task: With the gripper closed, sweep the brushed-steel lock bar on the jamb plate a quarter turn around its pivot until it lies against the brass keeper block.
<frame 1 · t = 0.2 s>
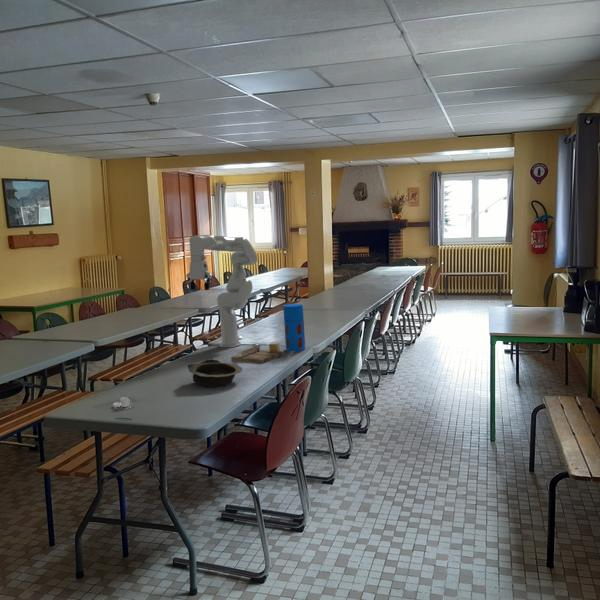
hand: (200, 289, 325), 36 cm above the table, tool pointing down, fingers open, 9 cm apart
brown round bowl: (216, 383, 268), on the table
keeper: (274, 351, 319), resting on jamb plate
thermos: (295, 349, 330), on the table
jamb plate: (257, 357, 314), on the table
lock bar: (248, 350, 315), point 4 cm above the table, hinge at 0.0°
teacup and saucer: (125, 406, 241), on the table
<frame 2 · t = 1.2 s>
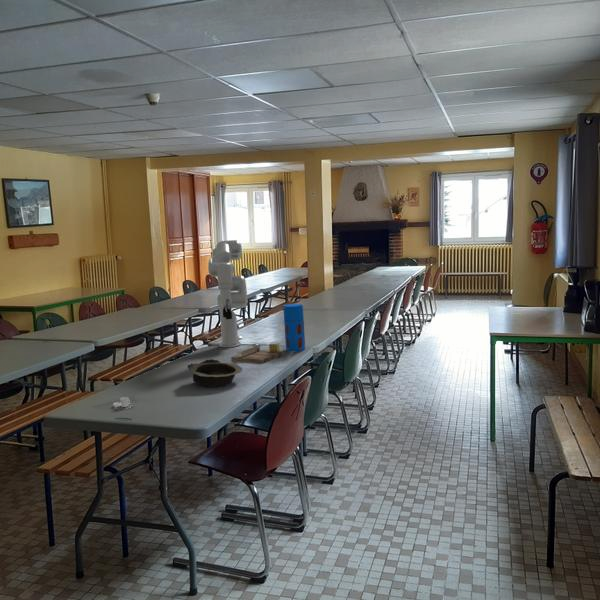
hand: (227, 318, 315), 21 cm above the table, tool pointing down, fingers open, 9 cm apart
nothing on the table moved.
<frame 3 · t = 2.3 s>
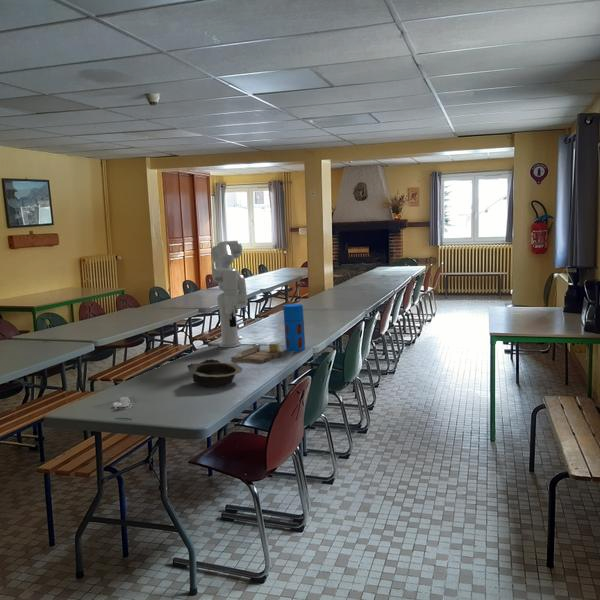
hand: (233, 326, 315), 17 cm above the table, tool pointing down, fingers closed
nothing on the table moved.
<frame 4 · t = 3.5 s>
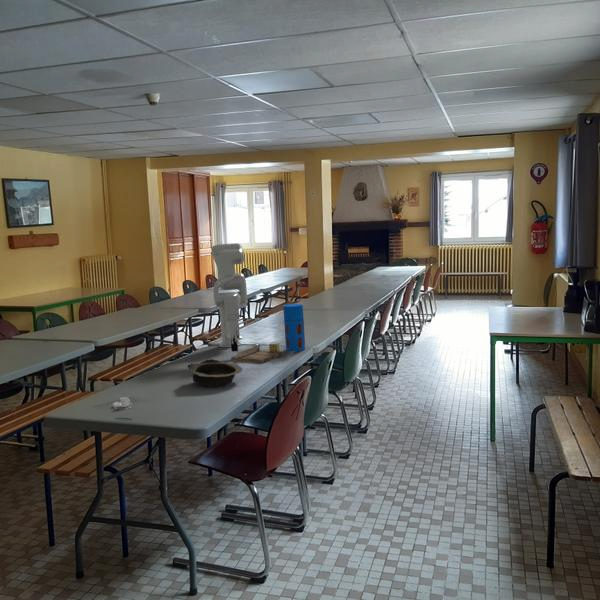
hand: (234, 351, 316), 4 cm above the table, tool pointing down, fingers closed
nothing on the table moved.
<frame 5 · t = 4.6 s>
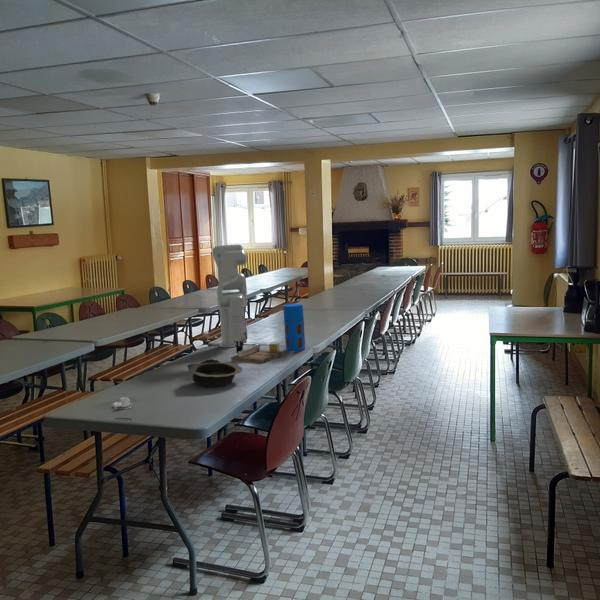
hand: (239, 353, 313), 3 cm above the table, tool pointing down, fingers closed
lock bar: (249, 350, 315), point 4 cm above the table, hinge at 2.8°, touching gripper
everything else where it was.
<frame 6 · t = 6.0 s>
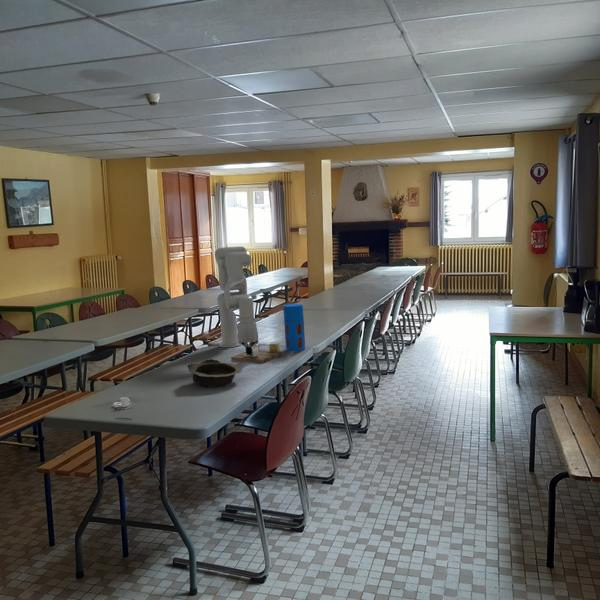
hand: (249, 354, 310), 3 cm above the table, tool pointing down, fingers closed
lock bar: (255, 350, 314), point 4 cm above the table, hinge at 33.4°, touching gripper
everything else where it was.
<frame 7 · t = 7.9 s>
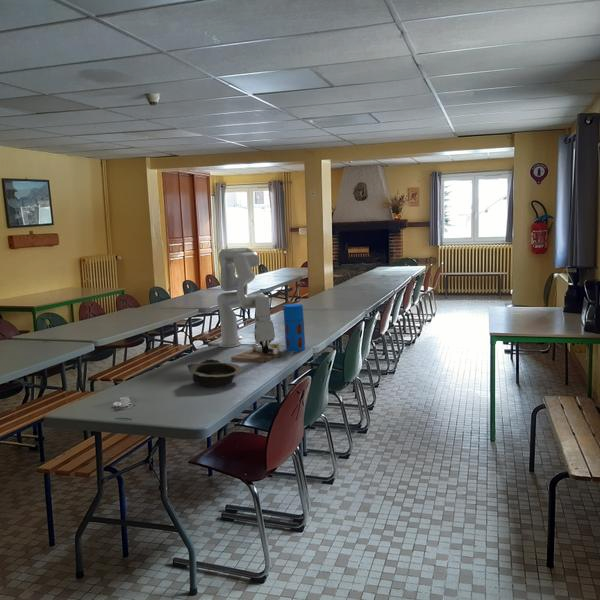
hand: (265, 353, 311), 3 cm above the table, tool pointing down, fingers closed
lock bar: (264, 348, 316), point 4 cm above the table, hinge at 75.7°, touching gripper
everything else where it was.
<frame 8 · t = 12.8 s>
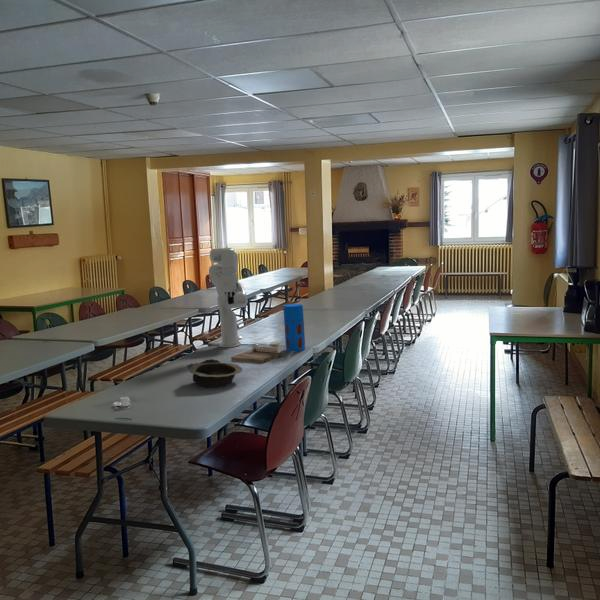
hand: (231, 303, 331), 27 cm above the table, tool pointing down, fingers closed
lock bar: (266, 348, 317), point 4 cm above the table, hinge at 86.6°
everything else where it was.
at the end: lock bar at +87° (first picture: +0°) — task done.
